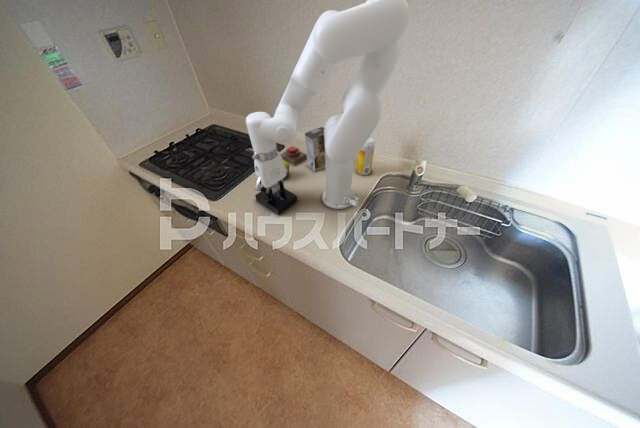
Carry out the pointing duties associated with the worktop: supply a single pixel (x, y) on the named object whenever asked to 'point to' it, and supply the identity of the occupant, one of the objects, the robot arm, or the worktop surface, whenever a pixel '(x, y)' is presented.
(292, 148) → the drain button
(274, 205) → the plate
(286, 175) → the apple
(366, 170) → the beer can
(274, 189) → the tap knob
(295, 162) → the switch block
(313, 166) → the coffee box
